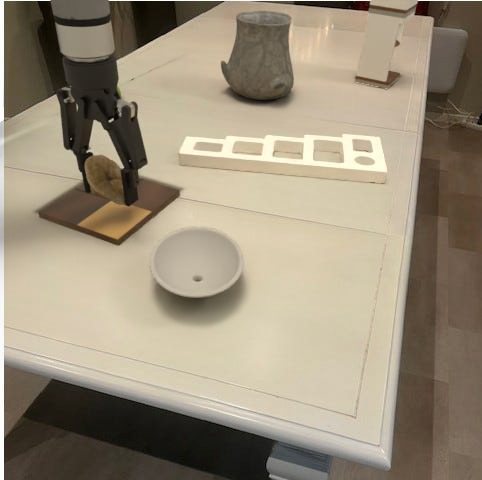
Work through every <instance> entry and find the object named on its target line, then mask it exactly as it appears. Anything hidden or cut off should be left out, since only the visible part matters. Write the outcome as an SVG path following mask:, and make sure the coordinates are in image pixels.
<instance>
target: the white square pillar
mask: <svg viewBox="0 0 482 480" xmlns="http://www.w3.org/2000/svg"><path fill="white" fill-rule="evenodd" d="M418 3H419V0H370V1H369V7H368V11H367V15H366V22H365V26H364V27H365V28H364V32H363V37H362V42H361V47H360V52H359V53H360V54H359V59H358V63H357V68H356V69H357V70H356V74H355V80H354V83H355V82H359V83H364V84H369V85H373V86H378V87H382V88H387V89H388V88H389V87H390V86H391V85H392V84H393V83H394V82H395V81H396V82H397V81H399V79H400V75H401V73H400V72H398V71H392V70H390V68H391V64H392V60H393V55H394V50H395V48H396V47H399V46H400V45H401V41H402V37H403V33H404V28H405V25H406V23H407V22H408V21H410V20H411V19H413V18H414V17H415V14H416V9H417V7H418ZM396 82H395V83H396ZM359 83H358V84H359ZM395 83H394V84H395ZM364 84H363V85H364ZM394 84H393V85H394ZM393 85H392V86H393ZM373 86H372V87H373ZM392 86H391V87H392ZM378 87H377V88H378ZM391 87H390V88H391ZM382 88H381V89H382ZM390 88H389V89H390ZM387 89H386V90H387ZM389 89H388V90H389Z"/></svg>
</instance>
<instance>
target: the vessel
mask: <svg viewBox="0 0 482 480" xmlns="http://www.w3.org/2000/svg"><path fill="white" fill-rule="evenodd" d="M235 20H236V30H235V31H236V32H235V39H234V42H233V47H232V49H231V53H230V57H229V59H228V61H227V62H226V61H225V60H221V61H220V69H221V73H222V75H223V77H224V80H225V81H226V83H227V84H228V85H229V86H230V88H231V89H232V90H233V91H234V92H235V93H237V94H239V95H241V96H243V97H245V98H248V99H251V100H259V101H260V100H261V101H265V100H266V101H267V100H274V99H278V98H281V97H285V96H287V95H288V94H289V93H290V92H291V91H292V89H293V88H294V83H295V78H294V69H293V63H292V59H291V54H290V27H291V25H292V24H291V23H292V17H291V15H289V14H288V13H285V12H281V11H271V10H270V11H269V10H252V11H246V12H245V11H243V12H239V13H237V14H236V18H235Z"/></svg>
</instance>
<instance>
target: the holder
mask: <svg viewBox="0 0 482 480" xmlns="http://www.w3.org/2000/svg"><path fill="white" fill-rule="evenodd" d="M362 150H366V151H362ZM315 151H316V152H327V153H328V152H329V153H338V154H340V162H334V161H333V162H330V161H321V160H315V159H314V152H315ZM367 151H368V152H367ZM275 152H281V153H290V154H291V153H293V154H300V155H301V159H300V158H299V159H298V158H296V159H295V158H287V157H275V156H274V153H275ZM242 153H243V154H242ZM251 154H252V155H251ZM253 154H256V155H253ZM178 163H179V164H178V165H179V166H186V167H197V168H208V169H217V170H219V169H221V170H229V171H238V172H239V171H242V172H251V173H252V172H253V173H263V174H264V173H265V174H273V175H275V174H276V175H283V176H294V177H295V176H296V177H305V178H315V179H316V178H317V179H327V180H337V181H338V180H340V181H350V182H360V183H370V182H375V183H374V184H381V183H384V184H385V182H386V179H387V175H388V168H387V163H386V159H385V155H384V150H383V146H382V140H381V138H380V137H379V136H372V135H360V134H350V133H349V134H348V133H342V134H341V137H339V136H329V135H328V136H327V135H315V134H303V137H293V136H283V135H281V136H280V135H273V134H272V135H271V134H266V135H265V136H264V138H258V137H248V136H247V137H246V136H235V135H226V136H225V138H224V139H221V138H213V137H212V138H210V137H201V136H200V137H199V136H191V135H190V136H189V135H188V136H185V139H184V141H183V143H182V145H181V147H180V148H179V151H178Z"/></svg>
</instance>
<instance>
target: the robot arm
mask: <svg viewBox="0 0 482 480" xmlns="http://www.w3.org/2000/svg"><path fill="white" fill-rule="evenodd" d="M49 1H50V5H51V10H52V15H53V21H54V24H55V29H56V36H57V41H58V46H59V52H60V53H61V54H62V55H63V57H62V60H61V61H62V66H63V70H64V75H65V81H66V83H67V85H66V86H65V87H64V86H63V87H61V88H59V89H57V90H56V91H55V95H56V99H57V101H58V104H59V109H60V120H61V122H60V123H61V131H62V143H63V148H64V149H65V150H66V151H69V150H70V151H71V152H72V154H73V155H74V156H75V158H76V163H77V169H78V170H79V173H81V176H82V181H83V182H82V183H84V187H85V192H86V193H91V189H90V184H89V183H88V181H87V178H86V173H85V161H86V159H87V158H89V157H90V156H94V152H92V151H89V150H91V149H92V147H90V141H91V137H92V131H93V125H94V121H95V122H98V123H100V124H101V127H102V128H103V130H104V131H106V132H107V134H108V137H109V138H110V140H111V143H112V145H113V147H114V149H115V151H116V154H117V155H118V158H119V160H120V162H121V164H122V166H123V168H121V170H120V171H121V178H122V185H123V192H124V199H125V205H126V206H130V205H132V204H133V203H134V202H136V201H137V200H138V192H137V186H138V185H139V178H140V176H139V170H141V169H142V168H143V167H145V166H146V165H148V164H149V160H148V157H147V152H146V147H145V143H144V139H143V136H142V131H141V127H140V123H139V118H138V116H139V115H138V113H139V112H138V111H139V105H138V103H137V102H136V101H135V100H134V101H131V102H128V101H126V100H124V99H122V96H121V97H120V95H119V93H118V90H117V86H118V83H119V79H120V76H119V70H118V62H117V57H116V55H115V54H114V52H115V50H116V47H115V41H114V39H115V38H114V31H113V26H112V18H111V8H110V7H111V6H110V0H49Z"/></svg>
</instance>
